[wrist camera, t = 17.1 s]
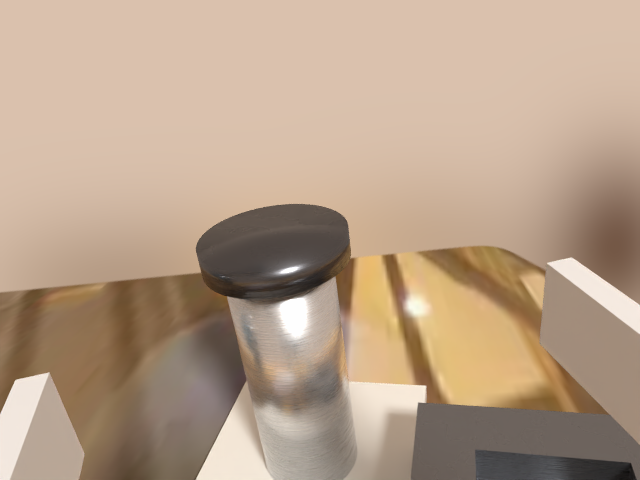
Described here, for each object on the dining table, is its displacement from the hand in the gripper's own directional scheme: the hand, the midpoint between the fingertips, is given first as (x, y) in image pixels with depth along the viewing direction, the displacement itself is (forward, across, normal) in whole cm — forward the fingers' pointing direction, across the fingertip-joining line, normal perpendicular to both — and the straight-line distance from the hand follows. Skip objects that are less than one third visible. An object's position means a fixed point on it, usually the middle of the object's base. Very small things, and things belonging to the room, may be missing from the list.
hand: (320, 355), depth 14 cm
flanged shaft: (+14, 0, -19) cm, 24 cm away
